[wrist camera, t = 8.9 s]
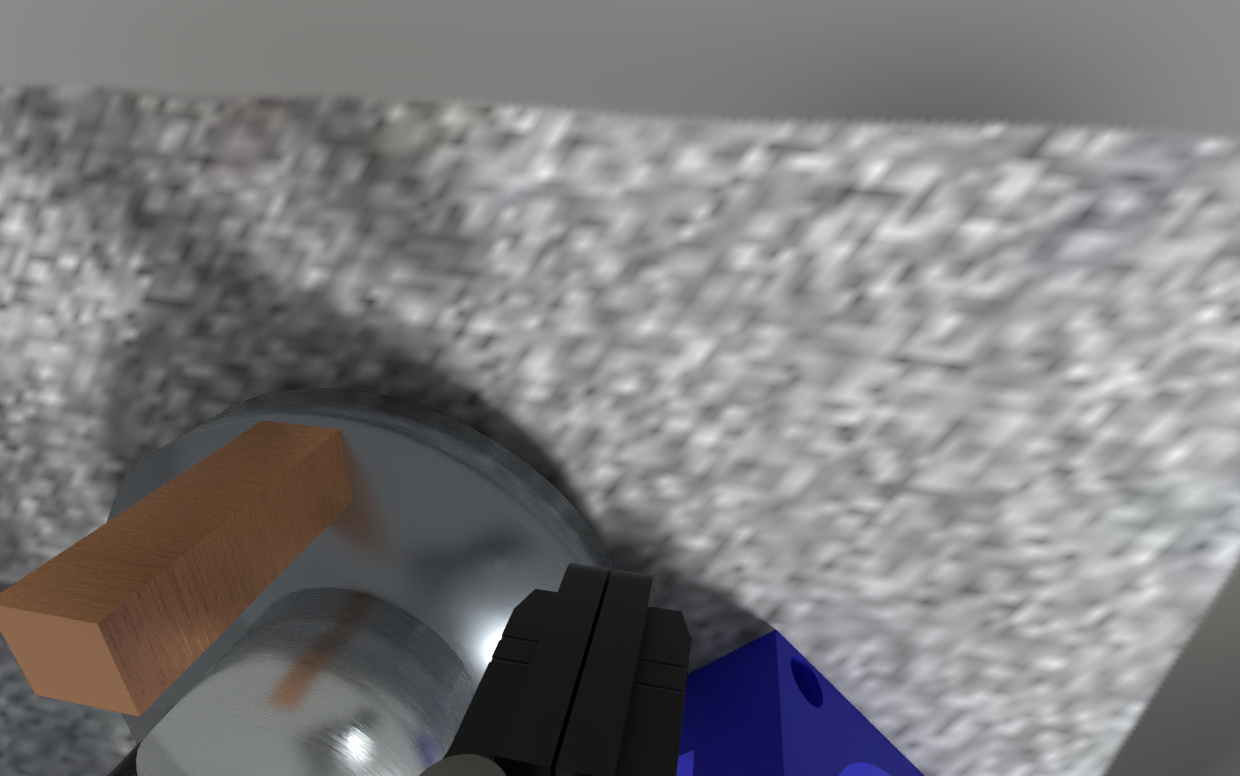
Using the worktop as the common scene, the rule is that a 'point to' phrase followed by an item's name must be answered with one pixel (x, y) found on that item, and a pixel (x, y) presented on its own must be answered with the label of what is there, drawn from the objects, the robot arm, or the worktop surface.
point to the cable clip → (777, 720)
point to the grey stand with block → (142, 732)
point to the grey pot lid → (292, 543)
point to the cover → (318, 696)
